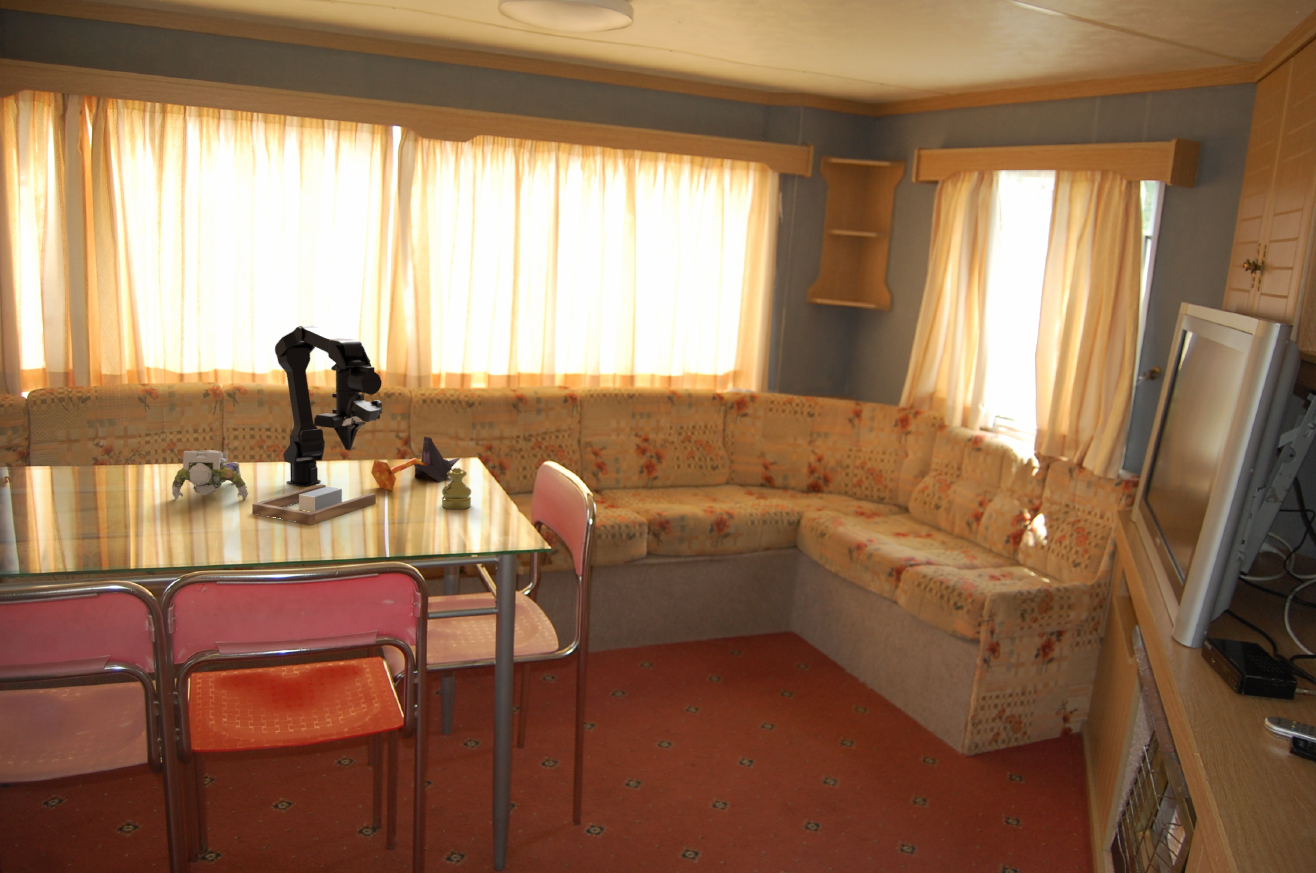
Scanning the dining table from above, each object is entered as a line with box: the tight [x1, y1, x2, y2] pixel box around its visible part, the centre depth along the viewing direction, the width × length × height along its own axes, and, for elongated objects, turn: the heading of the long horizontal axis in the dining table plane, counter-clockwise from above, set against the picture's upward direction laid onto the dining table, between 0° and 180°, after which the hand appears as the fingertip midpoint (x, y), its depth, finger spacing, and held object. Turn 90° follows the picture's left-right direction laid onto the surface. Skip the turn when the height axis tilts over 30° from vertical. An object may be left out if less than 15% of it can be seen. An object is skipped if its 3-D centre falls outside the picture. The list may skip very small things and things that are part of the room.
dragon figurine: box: [370, 436, 460, 491], centre depth 260 cm, size 10×12×25 cm
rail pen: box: [251, 484, 377, 526], centre depth 228 cm, size 18×24×2 cm
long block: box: [298, 485, 343, 512], centre depth 230 cm, size 4×4×10 cm
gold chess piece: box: [441, 467, 472, 510], centre depth 237 cm, size 7×7×10 cm
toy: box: [171, 449, 249, 501], centre depth 233 cm, size 18×12×30 cm
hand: (348, 449), depth 237 cm, fingers closed
